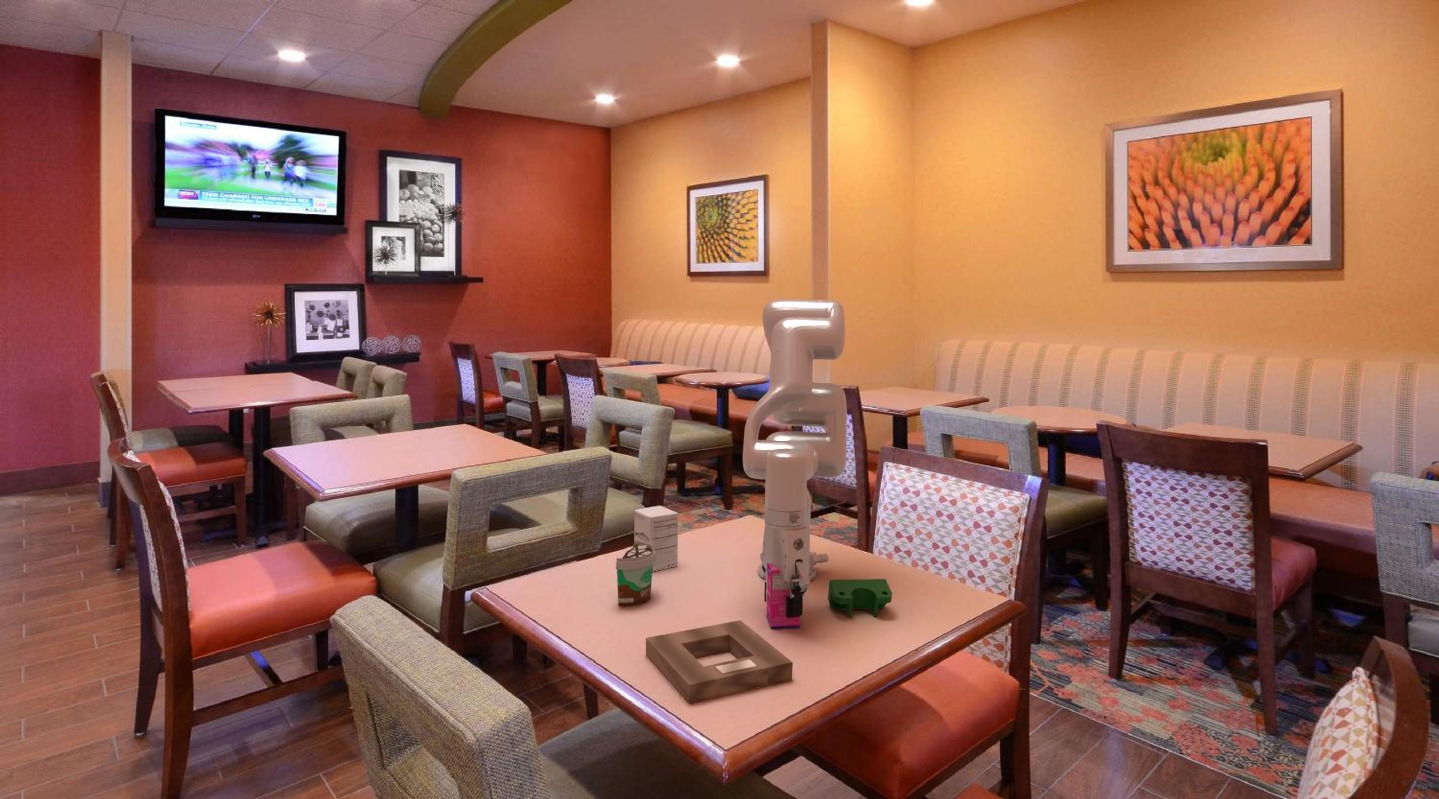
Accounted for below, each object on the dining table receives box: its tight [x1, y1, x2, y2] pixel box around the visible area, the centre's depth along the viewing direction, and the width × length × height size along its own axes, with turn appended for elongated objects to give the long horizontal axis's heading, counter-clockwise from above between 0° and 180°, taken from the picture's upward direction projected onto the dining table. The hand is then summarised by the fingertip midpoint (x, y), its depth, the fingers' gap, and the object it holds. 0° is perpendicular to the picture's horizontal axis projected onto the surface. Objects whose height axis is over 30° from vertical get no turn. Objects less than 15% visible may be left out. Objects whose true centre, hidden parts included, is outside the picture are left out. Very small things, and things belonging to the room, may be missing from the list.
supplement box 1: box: [633, 505, 679, 573], centre depth 181 cm, size 7×7×13 cm
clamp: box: [827, 578, 893, 618], centre depth 156 cm, size 12×6×9 cm
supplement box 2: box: [765, 563, 801, 630], centre depth 150 cm, size 6×6×12 cm
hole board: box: [645, 619, 794, 705], centre depth 133 cm, size 18×18×3 cm
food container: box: [615, 541, 657, 607], centre depth 161 cm, size 12×6×10 cm, turn 168°
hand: (782, 608), depth 151 cm, fingers closed on supplement box 2, 7 cm apart
